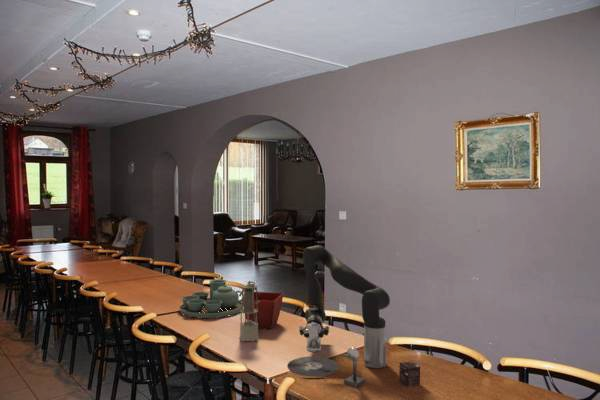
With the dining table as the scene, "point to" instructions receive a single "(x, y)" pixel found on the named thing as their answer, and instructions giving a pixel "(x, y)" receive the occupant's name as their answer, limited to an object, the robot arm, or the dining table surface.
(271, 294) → the plant pot
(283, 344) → the dining table surface
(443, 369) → the dining table surface
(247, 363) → the dining table surface
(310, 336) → the cover
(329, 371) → the turntable
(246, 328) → the lamp
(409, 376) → the box
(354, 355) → the stand
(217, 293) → the tea set
